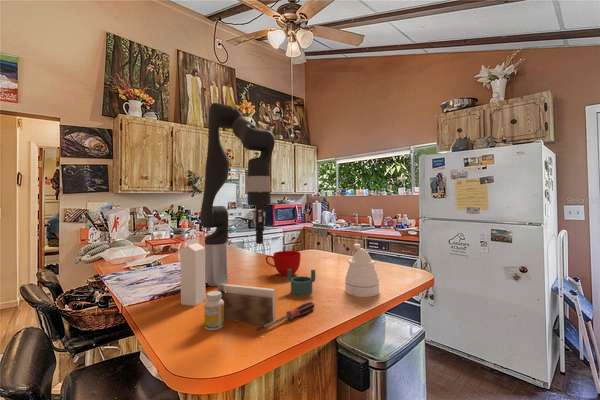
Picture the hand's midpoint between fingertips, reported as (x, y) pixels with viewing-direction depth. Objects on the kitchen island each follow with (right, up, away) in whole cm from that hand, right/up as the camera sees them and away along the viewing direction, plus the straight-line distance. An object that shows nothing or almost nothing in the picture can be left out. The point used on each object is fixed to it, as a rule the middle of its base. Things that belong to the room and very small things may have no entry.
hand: (259, 243), depth 95 cm
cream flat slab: (-3, -22, -6) cm, 23 cm away
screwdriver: (+9, -22, -8) cm, 26 cm away
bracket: (+14, -22, +18) cm, 31 cm away
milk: (-24, -22, +8) cm, 34 cm away
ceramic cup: (+5, -21, +44) cm, 49 cm away
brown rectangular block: (-4, -22, -7) cm, 23 cm away
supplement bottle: (-11, -22, -12) cm, 28 cm away
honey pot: (+37, -21, +18) cm, 47 cm away
